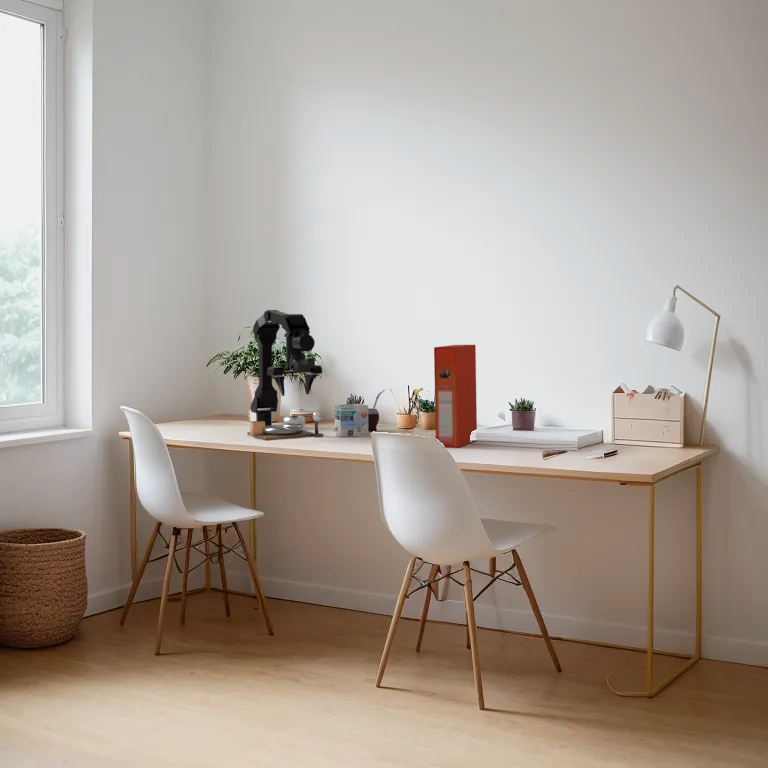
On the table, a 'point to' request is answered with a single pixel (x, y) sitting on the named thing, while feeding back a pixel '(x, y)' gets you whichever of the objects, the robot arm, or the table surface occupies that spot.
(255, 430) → the turntable
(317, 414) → the stand
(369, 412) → the mate gourd
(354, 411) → the light bulb box
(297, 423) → the cover
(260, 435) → the plinth
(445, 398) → the file binder
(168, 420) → the table surface
